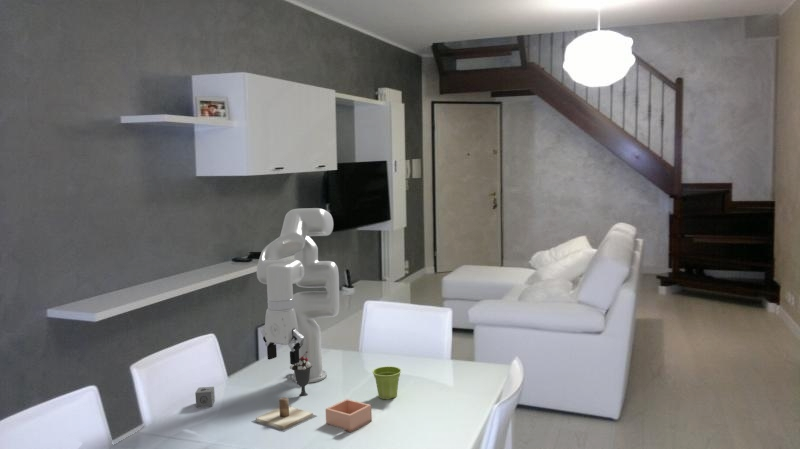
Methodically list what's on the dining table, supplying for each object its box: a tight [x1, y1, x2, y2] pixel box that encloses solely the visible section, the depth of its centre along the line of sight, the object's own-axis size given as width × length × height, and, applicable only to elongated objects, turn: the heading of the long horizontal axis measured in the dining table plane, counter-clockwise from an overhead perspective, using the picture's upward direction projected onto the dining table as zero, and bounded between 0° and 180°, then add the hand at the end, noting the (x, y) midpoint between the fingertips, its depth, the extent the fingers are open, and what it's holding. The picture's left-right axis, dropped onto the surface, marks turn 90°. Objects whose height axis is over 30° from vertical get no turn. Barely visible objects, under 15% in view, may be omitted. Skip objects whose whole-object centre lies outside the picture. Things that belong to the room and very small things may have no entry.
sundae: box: [291, 352, 312, 397], centre depth 218 cm, size 7×7×15 cm
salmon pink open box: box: [325, 398, 373, 433], centre depth 194 cm, size 10×10×5 cm
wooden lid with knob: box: [255, 397, 314, 430], centre depth 198 cm, size 12×12×6 cm
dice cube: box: [195, 386, 216, 409], centre depth 214 cm, size 5×5×5 cm
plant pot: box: [372, 365, 402, 400], centre depth 216 cm, size 9×9×9 cm
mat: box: [251, 414, 318, 433], centre depth 198 cm, size 14×14×1 cm
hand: (283, 360), depth 196 cm, fingers open, 9 cm apart
